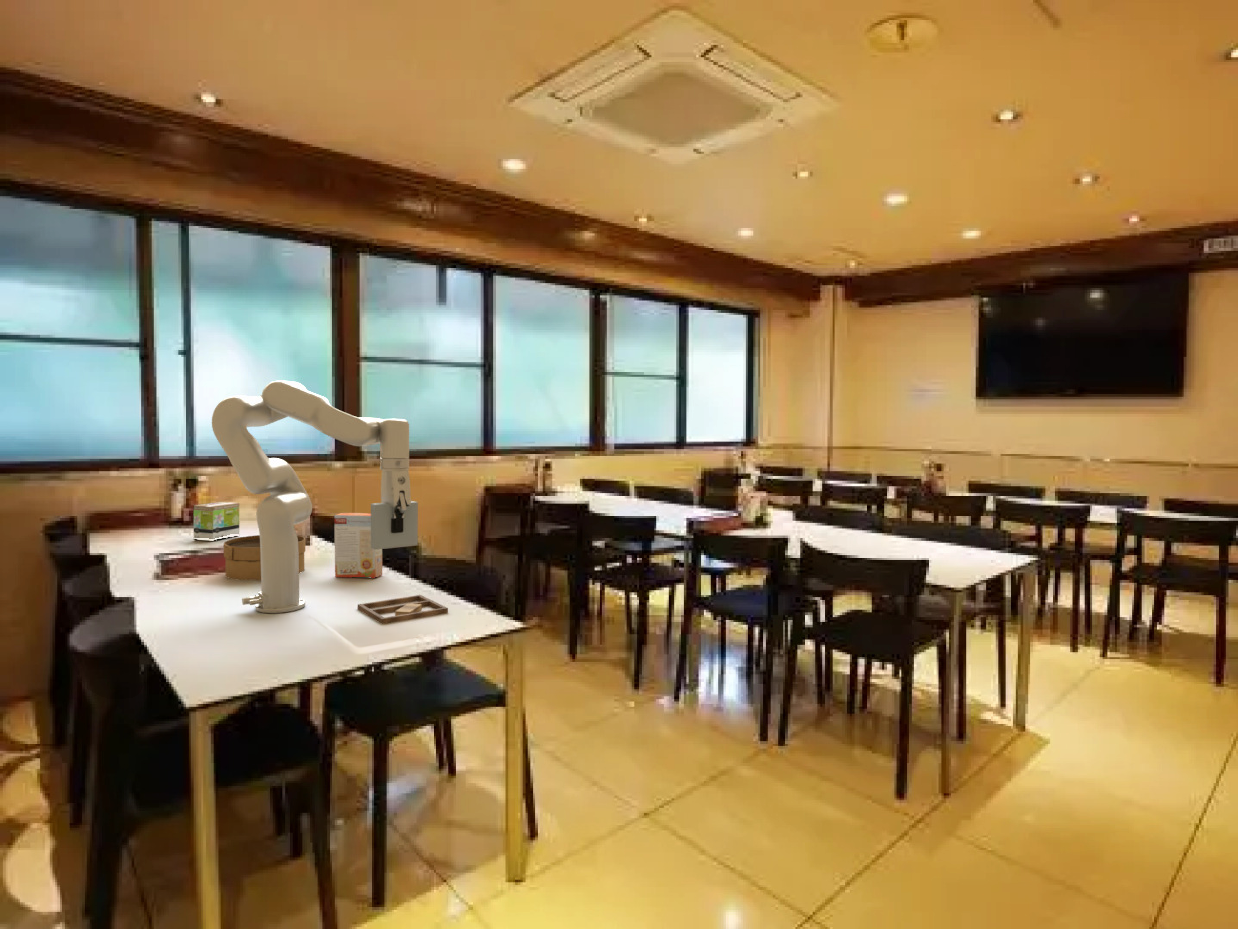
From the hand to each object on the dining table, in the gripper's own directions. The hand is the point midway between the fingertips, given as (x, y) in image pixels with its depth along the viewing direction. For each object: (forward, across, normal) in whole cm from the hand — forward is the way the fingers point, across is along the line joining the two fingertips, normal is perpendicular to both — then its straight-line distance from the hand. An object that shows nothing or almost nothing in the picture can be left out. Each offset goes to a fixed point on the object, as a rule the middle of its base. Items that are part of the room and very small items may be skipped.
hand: (394, 531), depth 200 cm
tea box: (+24, +151, +16) cm, 153 cm away
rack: (+22, -5, 0) cm, 23 cm away
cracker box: (+23, +48, -7) cm, 53 cm away
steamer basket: (+23, +72, +16) cm, 77 cm away
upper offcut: (+21, -8, 0) cm, 23 cm away
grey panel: (+4, 0, 0) cm, 4 cm away
